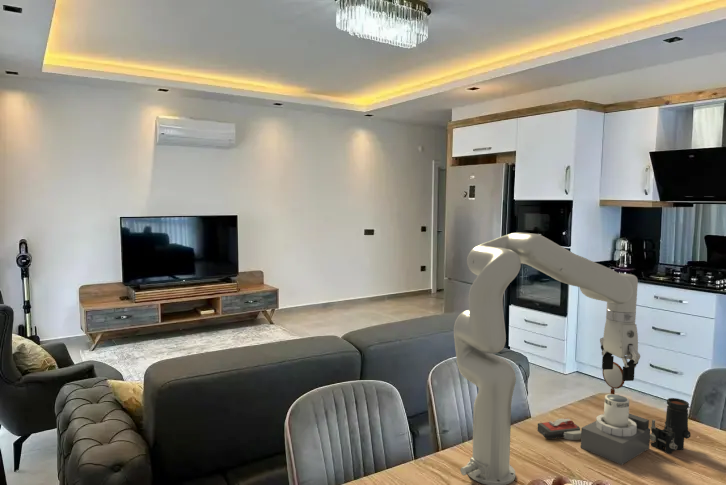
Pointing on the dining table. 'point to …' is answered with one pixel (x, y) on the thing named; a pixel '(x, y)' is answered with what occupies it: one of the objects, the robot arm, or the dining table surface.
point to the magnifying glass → (613, 377)
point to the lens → (616, 410)
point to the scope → (672, 427)
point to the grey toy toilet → (616, 439)
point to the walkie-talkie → (560, 429)
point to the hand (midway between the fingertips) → (617, 374)
